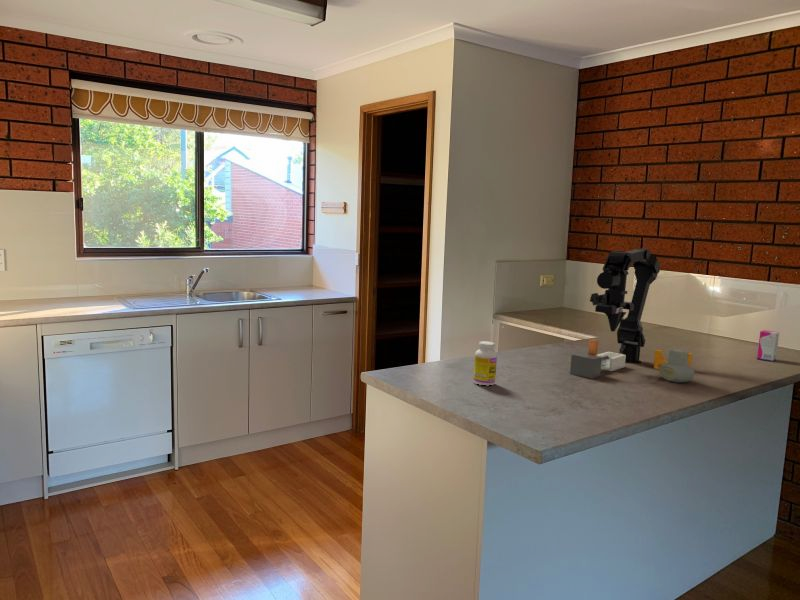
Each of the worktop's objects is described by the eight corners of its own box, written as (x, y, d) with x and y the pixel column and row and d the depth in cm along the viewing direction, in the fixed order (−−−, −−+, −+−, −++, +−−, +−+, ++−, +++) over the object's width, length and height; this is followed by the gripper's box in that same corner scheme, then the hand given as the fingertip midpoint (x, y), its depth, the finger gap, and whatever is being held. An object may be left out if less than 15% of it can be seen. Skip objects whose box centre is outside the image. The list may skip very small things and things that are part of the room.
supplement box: (776, 360, 252) (780, 331, 250) (772, 362, 247) (776, 333, 246) (760, 357, 256) (763, 329, 254) (756, 359, 251) (759, 331, 250)
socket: (578, 371, 216) (579, 352, 215) (600, 376, 210) (601, 356, 210) (569, 373, 212) (571, 354, 211) (592, 378, 206) (593, 359, 205)
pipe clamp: (655, 369, 225) (657, 351, 224) (653, 366, 230) (655, 349, 229) (691, 372, 223) (693, 355, 222) (688, 370, 227) (690, 352, 226)
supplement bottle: (489, 388, 189) (492, 346, 187) (469, 384, 193) (472, 342, 191) (498, 383, 195) (501, 342, 193) (478, 379, 198) (481, 339, 196)
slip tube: (600, 364, 223) (602, 335, 222) (609, 366, 220) (612, 337, 219) (578, 370, 211) (581, 340, 210) (588, 373, 209) (591, 342, 208)
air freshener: (653, 377, 213) (656, 348, 212) (672, 375, 216) (675, 347, 215) (679, 385, 203) (683, 355, 202) (698, 384, 206) (701, 354, 205)
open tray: (607, 363, 231) (608, 351, 230) (624, 366, 226) (625, 354, 226) (594, 367, 223) (595, 355, 222) (611, 371, 219) (613, 358, 218)
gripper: (607, 284, 233) (603, 325, 235) (583, 286, 219) (579, 330, 221) (636, 287, 225) (632, 330, 227) (613, 289, 212) (609, 335, 214)
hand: (612, 331), depth 223 cm, fingers closed
